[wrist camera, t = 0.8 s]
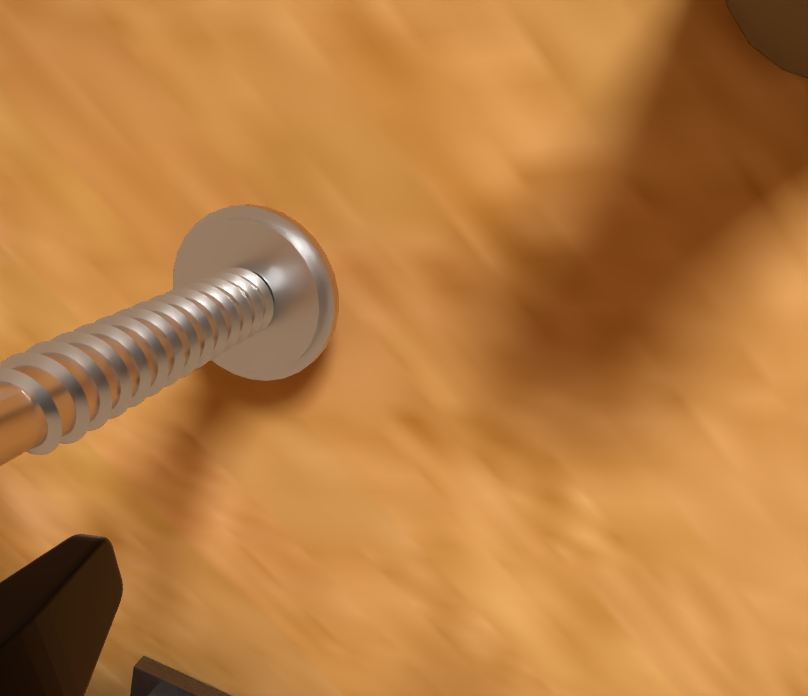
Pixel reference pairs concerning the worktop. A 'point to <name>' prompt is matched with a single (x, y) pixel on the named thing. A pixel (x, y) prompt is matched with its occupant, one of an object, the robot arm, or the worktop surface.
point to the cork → (776, 30)
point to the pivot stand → (166, 682)
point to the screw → (180, 331)
